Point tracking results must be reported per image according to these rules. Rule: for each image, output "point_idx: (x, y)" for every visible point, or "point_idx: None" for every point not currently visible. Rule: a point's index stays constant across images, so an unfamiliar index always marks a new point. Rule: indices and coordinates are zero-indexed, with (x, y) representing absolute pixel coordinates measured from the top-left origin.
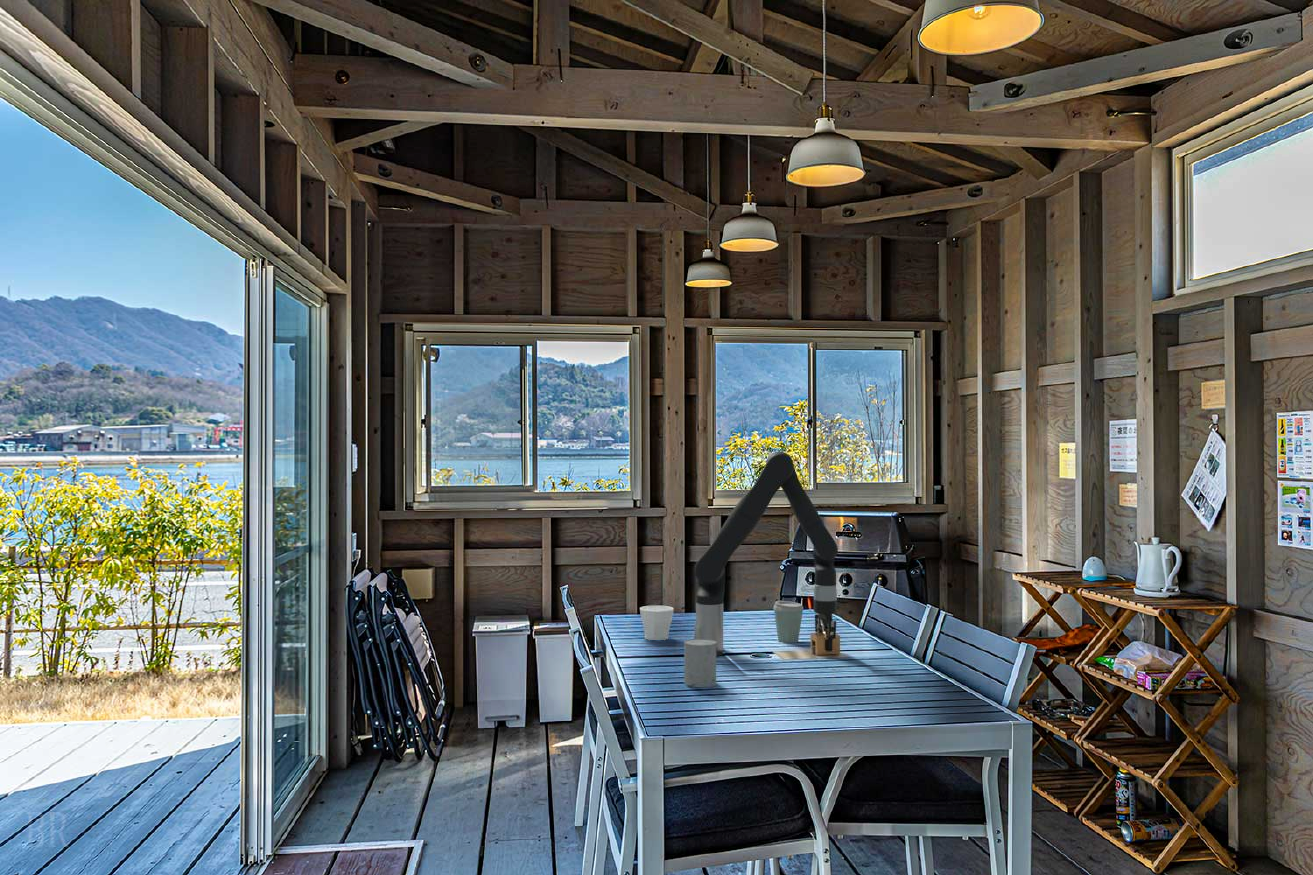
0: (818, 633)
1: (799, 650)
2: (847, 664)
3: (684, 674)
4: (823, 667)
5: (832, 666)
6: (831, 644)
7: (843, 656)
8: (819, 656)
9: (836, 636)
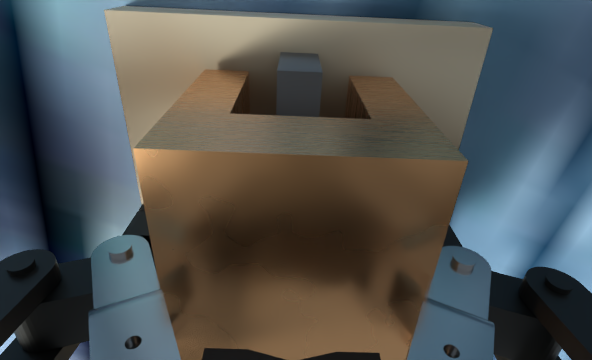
0: None
1: None
2: (560, 74)
3: None
4: (541, 263)
5: (550, 206)
6: (447, 232)
7: (454, 64)
8: None
9: (445, 209)
